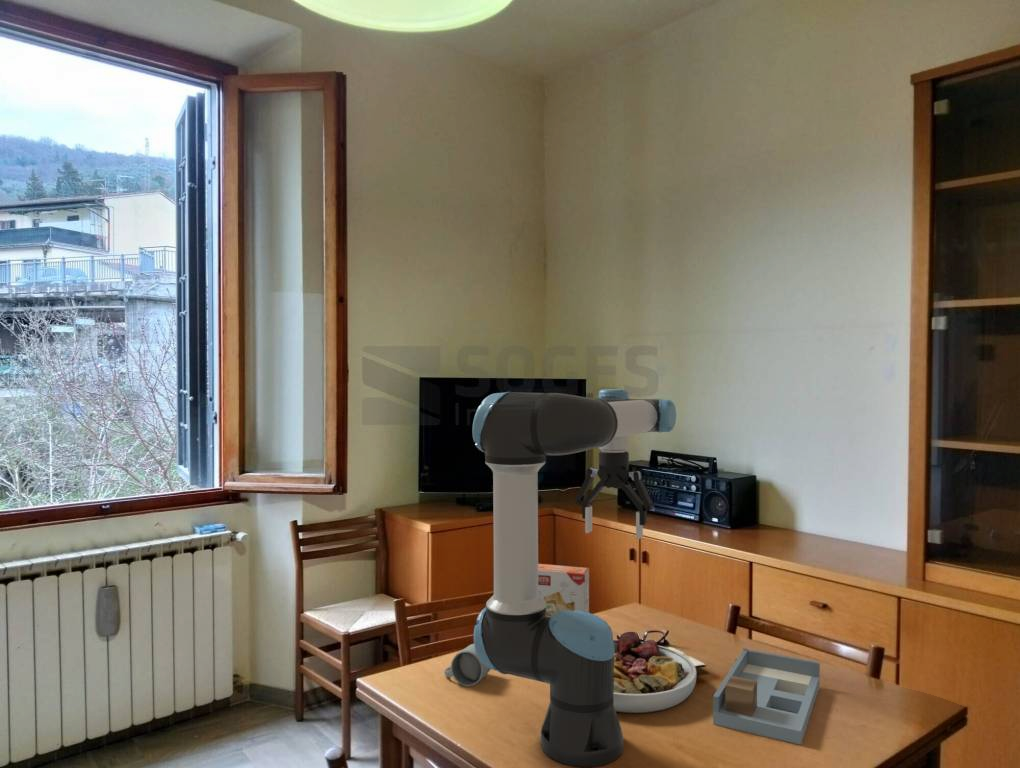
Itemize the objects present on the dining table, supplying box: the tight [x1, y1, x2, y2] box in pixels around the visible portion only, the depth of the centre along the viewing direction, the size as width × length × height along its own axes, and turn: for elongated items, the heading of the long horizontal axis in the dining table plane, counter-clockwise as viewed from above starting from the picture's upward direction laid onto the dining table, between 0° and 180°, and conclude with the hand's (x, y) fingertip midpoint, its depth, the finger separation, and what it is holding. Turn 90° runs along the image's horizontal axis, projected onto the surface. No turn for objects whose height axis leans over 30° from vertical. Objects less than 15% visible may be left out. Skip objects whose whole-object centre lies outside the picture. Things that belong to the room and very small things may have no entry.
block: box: [725, 676, 757, 717], centre depth 141 cm, size 5×5×5 cm
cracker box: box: [538, 563, 590, 617], centre depth 176 cm, size 14×6×21 cm, turn 73°
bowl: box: [613, 631, 697, 714], centre depth 157 cm, size 30×30×8 cm
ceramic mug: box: [443, 643, 491, 687], centre depth 161 cm, size 11×8×8 cm
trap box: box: [712, 648, 821, 746], centre depth 148 cm, size 28×16×6 cm, turn 150°
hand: (613, 535), depth 181 cm, fingers open, 13 cm apart
